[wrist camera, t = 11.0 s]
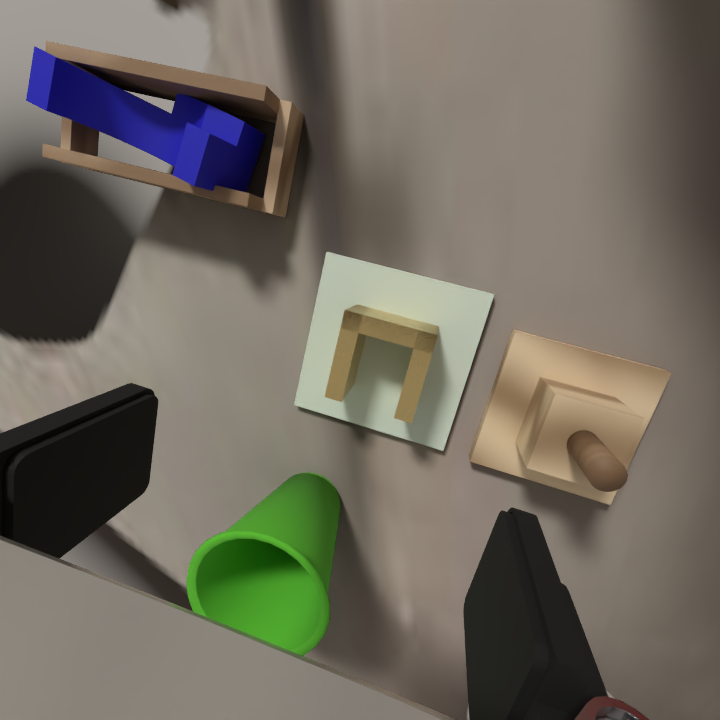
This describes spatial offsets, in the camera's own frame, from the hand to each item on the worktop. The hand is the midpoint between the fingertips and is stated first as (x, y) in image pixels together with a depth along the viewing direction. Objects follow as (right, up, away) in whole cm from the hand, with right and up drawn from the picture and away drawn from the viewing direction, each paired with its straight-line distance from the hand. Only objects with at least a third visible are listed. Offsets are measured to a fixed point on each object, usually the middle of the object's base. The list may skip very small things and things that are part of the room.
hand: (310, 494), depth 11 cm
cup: (-3, -8, +24) cm, 26 cm away
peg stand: (+15, 0, +19) cm, 24 cm away
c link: (+3, +4, +19) cm, 20 cm away
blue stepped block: (-11, +20, +19) cm, 30 cm away
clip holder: (-11, +19, +19) cm, 30 cm away
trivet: (+3, +4, +20) cm, 21 cm away
